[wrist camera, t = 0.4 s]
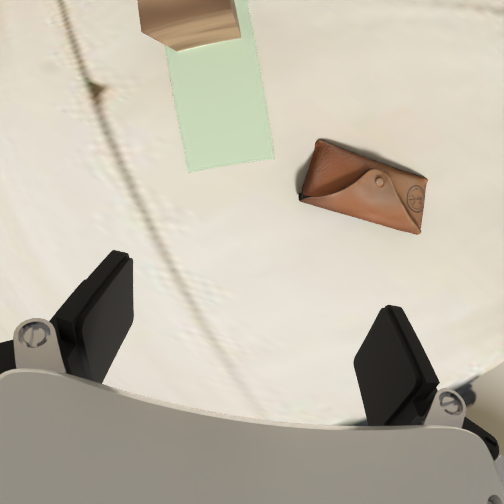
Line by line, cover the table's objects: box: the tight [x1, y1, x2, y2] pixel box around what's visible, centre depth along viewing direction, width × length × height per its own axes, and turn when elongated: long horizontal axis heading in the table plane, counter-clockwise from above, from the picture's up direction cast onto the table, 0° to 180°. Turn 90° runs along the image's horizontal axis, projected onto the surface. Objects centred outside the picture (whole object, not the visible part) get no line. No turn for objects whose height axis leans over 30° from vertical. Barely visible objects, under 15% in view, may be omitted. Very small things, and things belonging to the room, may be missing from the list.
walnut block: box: [137, 0, 242, 52], centre depth 24 cm, size 5×8×12 cm, turn 99°
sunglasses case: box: [299, 140, 428, 235], centre depth 37 cm, size 18×7×7 cm
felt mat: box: [165, 0, 275, 173], centre depth 33 cm, size 22×11×1 cm, turn 9°
